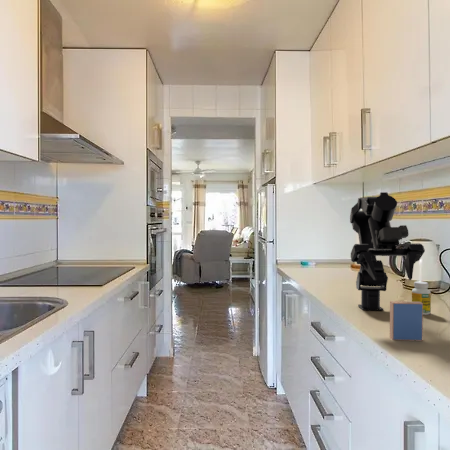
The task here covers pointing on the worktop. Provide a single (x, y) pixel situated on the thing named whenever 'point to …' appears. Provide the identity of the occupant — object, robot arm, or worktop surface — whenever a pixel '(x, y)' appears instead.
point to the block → (406, 320)
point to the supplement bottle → (422, 296)
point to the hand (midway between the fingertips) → (393, 279)
